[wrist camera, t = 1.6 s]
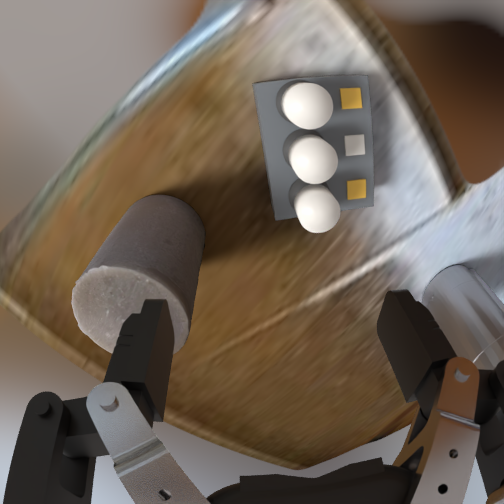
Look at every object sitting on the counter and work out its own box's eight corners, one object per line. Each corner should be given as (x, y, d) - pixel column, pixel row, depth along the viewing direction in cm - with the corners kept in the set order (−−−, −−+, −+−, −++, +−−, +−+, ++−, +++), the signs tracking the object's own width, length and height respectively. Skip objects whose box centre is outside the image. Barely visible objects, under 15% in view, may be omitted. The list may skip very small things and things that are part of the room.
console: (351, 75, 25) (368, 75, 22) (359, 191, 32) (374, 207, 28) (252, 83, 26) (254, 83, 22) (271, 203, 32) (275, 221, 28)
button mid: (327, 132, 23) (336, 137, 21) (331, 172, 25) (339, 180, 23) (285, 137, 23) (290, 142, 21) (290, 177, 25) (295, 186, 23)
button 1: (331, 181, 25) (339, 190, 23) (333, 217, 27) (341, 229, 25) (291, 187, 25) (296, 196, 23) (295, 223, 27) (300, 235, 25)
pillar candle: (220, 253, 35) (214, 358, 22) (149, 282, 36) (116, 382, 24) (178, 177, 30) (137, 255, 17) (104, 216, 32) (40, 302, 19)
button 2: (322, 80, 21) (330, 81, 19) (326, 122, 22) (335, 127, 21) (278, 84, 21) (282, 85, 19) (284, 127, 23) (288, 132, 21)
